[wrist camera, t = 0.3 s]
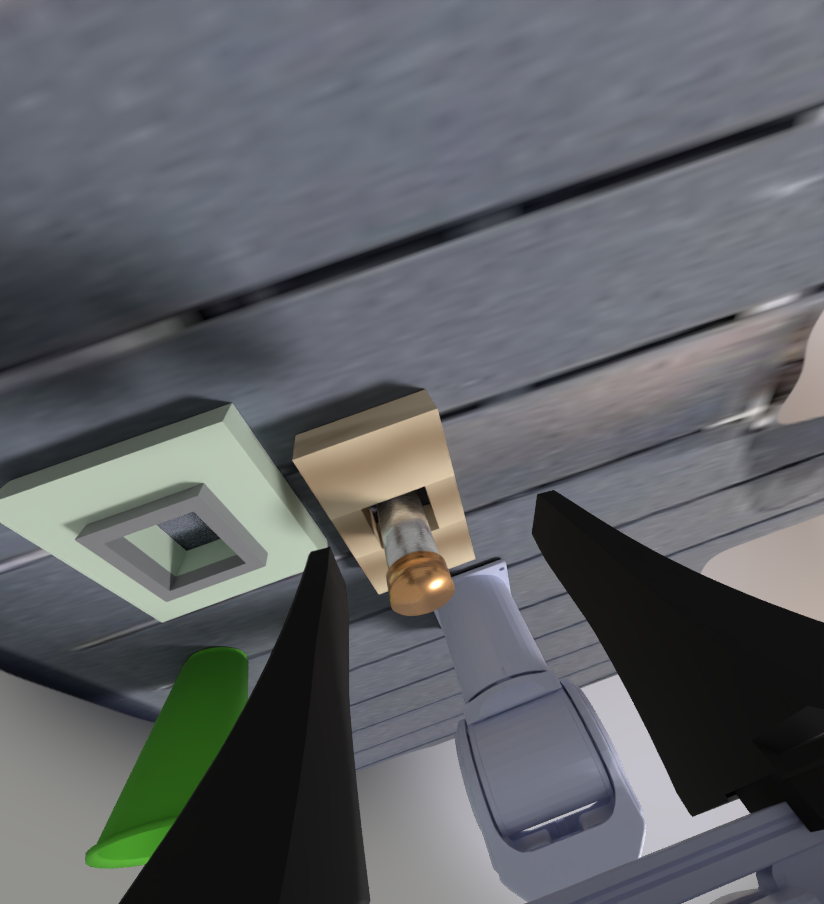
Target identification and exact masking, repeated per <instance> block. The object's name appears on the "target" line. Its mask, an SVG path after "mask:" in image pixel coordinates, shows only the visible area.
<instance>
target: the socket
mask: <svg viewBox="0 0 824 904" xmlns="http://www.w3.org/2000/svg"><path fill="white" fill-rule="evenodd" d="M191 512H194V513H195V514H196V515H197V516H198V517H199V518H200V519H201V520H202V521H203V522H204V523H206V524H207V525H208V526H209V527H210V528H211V529H212V530H213V531H214V532H215V533H216V534H217V535H218V536H219V537H220V538H221V539H218V540H216V541H213V542H210V543H207V544H205V545H202V546H199V547H196V548H193V549H191V550H188V551H186V550H185V549H184V548H183V547H181V546H180V545H179V544H178V543H177V542H176V541H174V540H173V539H172V538H171V537H170V536H169V535H167V534H166V533H165V532H164V531H163V530H162V529H160V528H159V527H158V526H157V524H160V523H163V522H166V521H168V520H171V519H174V518H177V517H180V516H182V515H185V514H188V513H191ZM0 523H2V524H3V525H5V526H7V527H8V528H10V529H11V530H13V531H15V532H16V533H18V534H20V535H21V536H23V537H24V538H26V539H28V540H29V541H31V542H32V543H34V544H36V545H37V546H39V547H41V548H42V549H44V550H45V551H47V552H49V553H50V554H52V555H53V556H55V557H57V558H58V559H60V560H62V561H63V562H65V563H66V564H68V565H70V566H71V567H73V568H74V569H76V570H78V571H79V572H81V573H83V574H84V575H86V576H87V577H89V578H91V579H92V580H94V581H95V582H97V583H99V584H100V585H102V586H104V587H105V588H107V589H108V590H110V591H112V592H113V593H115V594H116V595H118V596H120V597H121V598H123V599H125V600H126V601H128V602H129V603H131V604H133V605H134V606H136V607H137V608H139V609H141V610H142V611H144V612H146V613H147V614H149V615H150V616H152V617H154V618H155V619H157V620H158V621H160V622H165V621H168V620H171V619H173V618H176V617H179V616H182V615H184V614H187V613H190V612H193V611H195V610H198V609H201V608H204V607H206V606H209V605H212V604H214V603H217V602H220V601H223V600H225V599H228V598H231V597H234V596H236V595H239V594H242V593H245V592H247V591H250V590H253V589H256V588H258V587H261V586H264V585H267V584H269V583H272V582H275V581H278V580H280V579H283V578H286V577H289V576H291V575H294V574H297V573H300V572H302V571H304V569H305V565H306V562H307V559H308V555H309V554H310V552H311V551H315V550H319V549H323V548H327V539H326V537H325V536H324V535H323V533H322V532H321V530H320V529H319V527H318V526H317V524H316V523H315V522H314V520H313V519H312V517H311V516H310V514H309V513H308V511H307V510H306V509H305V507H304V506H303V504H302V503H301V501H300V500H299V499H298V497H297V496H296V494H295V493H294V491H293V490H292V488H291V487H290V486H289V484H288V483H287V481H286V480H285V478H284V477H283V475H282V474H281V473H280V471H279V470H278V468H277V467H276V465H275V464H274V463H273V461H272V460H271V458H270V457H269V455H268V454H267V452H266V451H265V450H264V448H263V447H262V445H261V444H260V442H259V441H258V439H257V438H256V437H255V435H254V434H253V432H252V431H251V429H250V428H249V427H248V425H247V424H246V422H245V421H244V419H243V418H242V416H241V415H240V414H239V412H238V411H237V409H236V408H235V406H234V405H233V403H230V404H228V405H225V406H222V407H219V408H216V409H213V410H210V411H208V412H205V413H202V414H199V415H196V416H193V417H190V418H188V419H185V420H182V421H179V422H176V423H173V424H171V425H168V426H165V427H162V428H159V429H156V430H153V431H151V432H148V433H145V434H142V435H139V436H136V437H133V438H131V439H128V440H125V441H122V442H119V443H116V444H114V445H111V446H108V447H105V448H102V449H99V450H96V451H94V452H91V453H88V454H85V455H82V456H79V457H76V458H74V459H71V460H68V461H65V462H62V463H59V464H57V465H54V466H51V467H48V468H45V469H42V470H39V471H37V472H34V473H31V474H28V475H25V476H22V477H19V478H17V479H14V480H11V481H9V482H8V483H7V484H5V485H4V486H3V487H2V488H0Z"/></svg>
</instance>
